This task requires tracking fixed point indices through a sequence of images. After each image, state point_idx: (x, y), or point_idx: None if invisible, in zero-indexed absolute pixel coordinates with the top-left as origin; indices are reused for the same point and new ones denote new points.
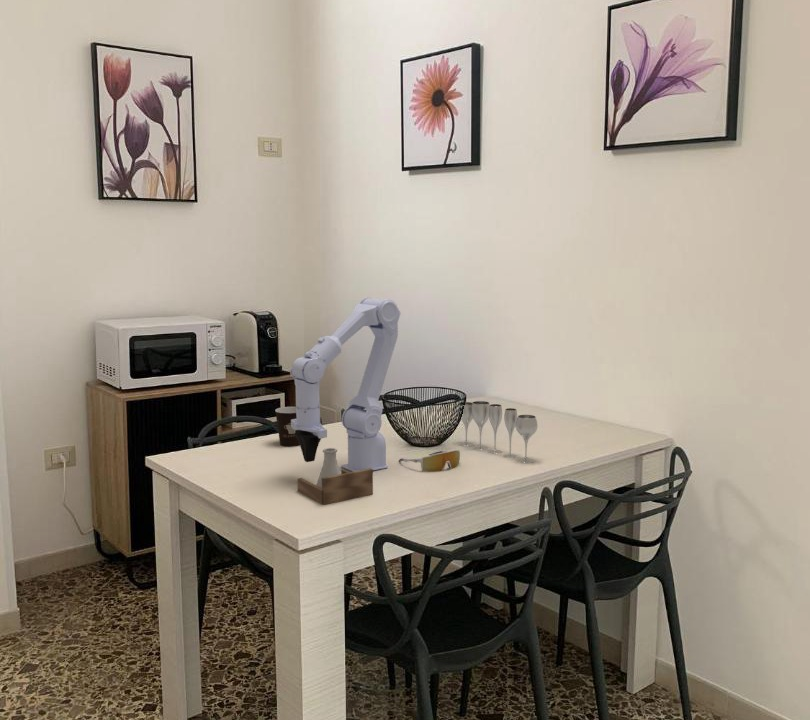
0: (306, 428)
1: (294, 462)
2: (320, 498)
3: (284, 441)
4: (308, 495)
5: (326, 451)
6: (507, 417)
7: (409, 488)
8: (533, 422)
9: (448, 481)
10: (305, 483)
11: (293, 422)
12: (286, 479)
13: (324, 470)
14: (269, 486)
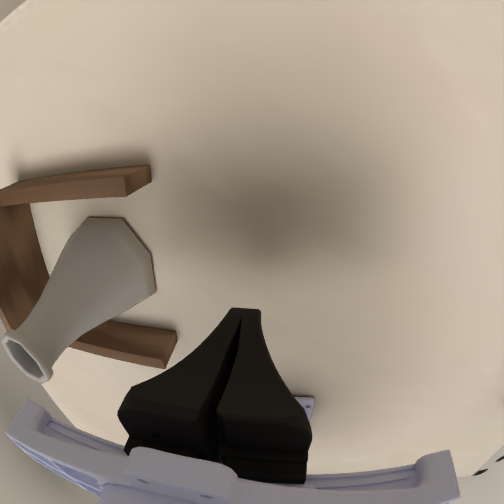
0: (78, 465)
1: (462, 327)
2: (20, 183)
3: None
4: (78, 172)
5: (5, 335)
6: None
7: (82, 380)
8: None
9: (107, 426)
10: (68, 181)
11: (406, 502)
12: (327, 204)
13: (55, 279)
14: (278, 90)
